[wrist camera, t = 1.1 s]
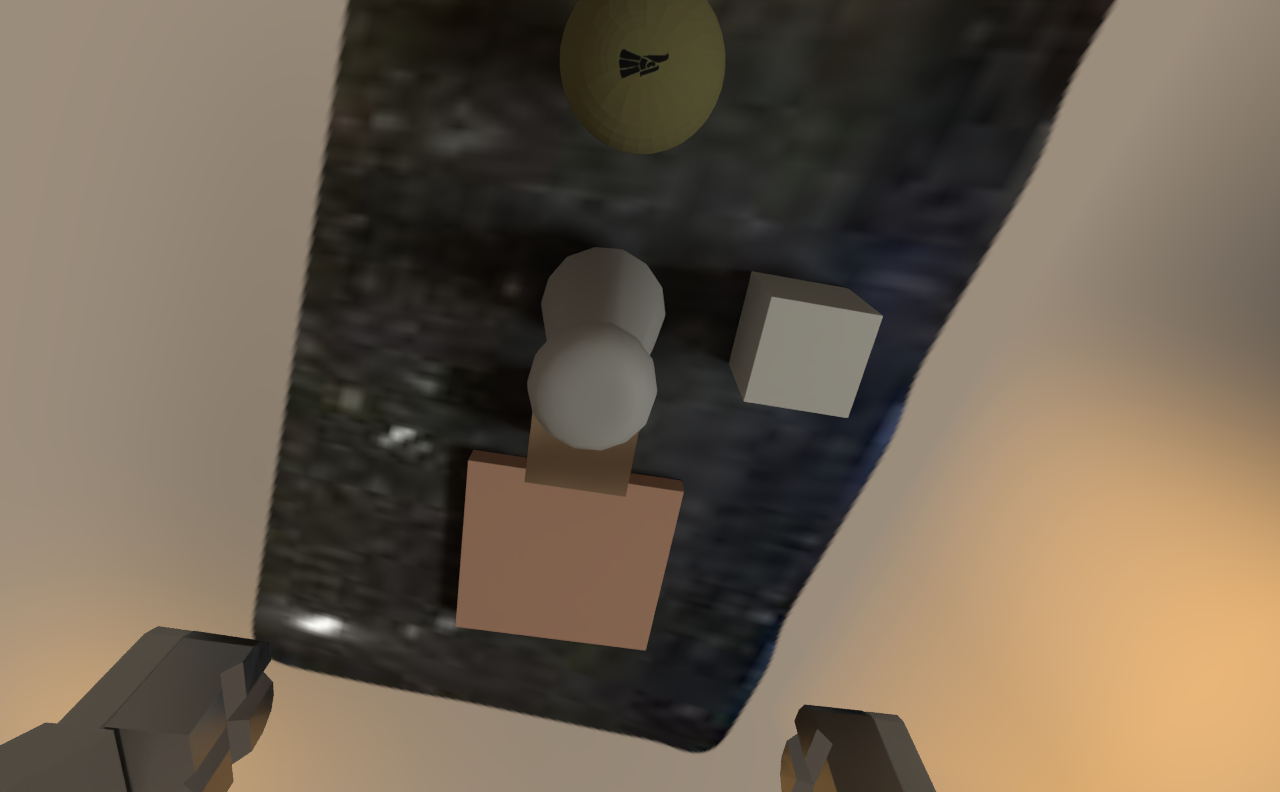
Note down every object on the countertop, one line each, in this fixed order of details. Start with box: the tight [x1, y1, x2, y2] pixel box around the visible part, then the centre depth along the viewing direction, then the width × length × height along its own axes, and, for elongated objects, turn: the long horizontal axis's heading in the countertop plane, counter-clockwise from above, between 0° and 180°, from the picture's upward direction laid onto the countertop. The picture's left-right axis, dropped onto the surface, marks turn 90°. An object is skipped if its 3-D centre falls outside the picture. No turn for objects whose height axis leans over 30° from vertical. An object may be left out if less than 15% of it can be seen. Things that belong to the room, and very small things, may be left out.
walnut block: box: [524, 413, 639, 497], centre depth 32 cm, size 4×5×5 cm
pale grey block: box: [729, 271, 883, 418], centre depth 30 cm, size 5×5×5 cm
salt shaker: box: [527, 247, 665, 451], centre depth 26 cm, size 6×6×13 cm
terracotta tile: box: [456, 450, 684, 650], centre depth 37 cm, size 12×12×1 cm
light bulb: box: [560, 0, 725, 154], centre depth 23 cm, size 6×6×10 cm
